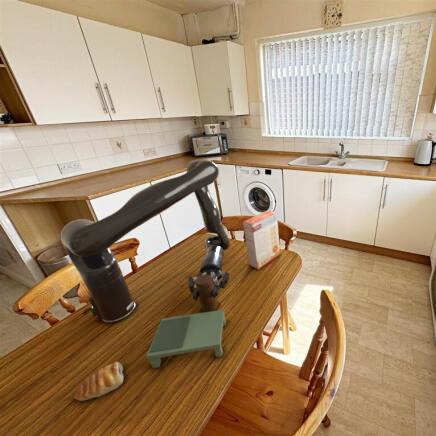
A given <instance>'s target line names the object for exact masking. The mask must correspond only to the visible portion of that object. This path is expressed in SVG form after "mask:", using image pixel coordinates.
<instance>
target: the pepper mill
mask: <svg viewBox="0 0 436 436" xmlns="http://www.w3.org/2000/svg"><path fill="white" fill-rule="evenodd" d="M196 277H197V276H196ZM194 285H196V288H197V292H198V295H199V297H198V300H199V303H200V307H201V311H202V313H205V312H211V311H217V309H218V306H219V305H218V300H217V297H216V298H213V288H214V284H213V282H212V277H211V276H210V275H208V274H204V275H200V276H199V277H197V278H196V279H195V284H194Z"/></svg>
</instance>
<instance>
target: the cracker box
mask: <svg viewBox="0 0 436 436" xmlns="http://www.w3.org/2000/svg"><path fill="white" fill-rule="evenodd" d="M278 223H279V222H278V213H277V212H274V211H271V210H268V209H267V210H265V211H263V212H261V213H259V214H257V215H255V216H253V217H249V218H248V219H246V220H244V221H242V225H243V231H244V237H245V244H246V252H247V258H248V265H249V266H251V267H252V268H254V269H256V270H261V268H263V267H264V266H266V265H268V264H269V263H270V262H271V261H273V260H274V259H276V258H277V257H278V256H280V255H281V249H280V248H281V247H280V236H279V224H278Z"/></svg>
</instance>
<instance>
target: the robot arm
mask: <svg viewBox="0 0 436 436" xmlns="http://www.w3.org/2000/svg"><path fill="white" fill-rule="evenodd" d="M219 172H220V171H219V167H218V165H217V164H216V163H214V162H213V161H211V160H208V159H207V160H206V159H195V160H192V161H190V162H188V164H187V166H186V172H185V173H183V174H181V175H178V176H175V177H172V178H167V179H164V180H162V181H158V182H155V183H153V184H151V185H149V186H147V187H145V188H143V189H142V190H139V191H138V192H136V193H135V194H133V195H132V196H131V197H130V198H129V199H128V200H127V201H126V202H125V203H124V205H122V206H121V207H120V208H119V209H118V210H116V211H115V212H113V213H112V214H110V215H107V216H106V217H104V218H102V219H99V220H97V221H93V220H90V219H86V218H85V219H83V218H82V219H81V218H80V219H75V220H72V221H70V222H68V223H67V224H65V226H64V227H63V228H62V230H61V232H60V240H61V243H62V246H63V248H64V249H65V251H66V253H67V255H68V257H69V259H70V260H71V262H72V264H73V266H74V268H75V269H76V271H77V272H78V274H79V275H80V277H81V279H82V281H83V283H84V285H85V287H86V289H87V291H88V293H89V296H88V302H89V303H90V305H91V306H90V307H88V308H86V309H85V310H84V311H83V312H82V314H83V315H86V314H87V313H88V312H89V311H90V312H91V315H92V316H93V317H97V318H98V320H99V321H103V322H104V323H108V324H112V323H116V322H117V323H118V322H119V321H122V320H124V319H126V318H127V317H129V316H130V315H131V314H132V313H133V312H134V311H135V310H136V302H135V301H134V298H133V296H132V294H131V291H130V288H129V286H128V284H127V282H126V281H127V280H126V279H125V277H124V274H123V272H122V269H121V267H120V264H119V262H118V260H117V259H118V258H117V257H116V255H115V254H114V253H113V252H112V250H111V249H110V248H111V246H113V245H114V244H116V243H117V242H118V241H120V240H121V239H122V238H124V237H125V236H126V235H127V234H129V233H130V232H132V231H133V230H135V229H137V228H138V227H140V226H142V225H143V224H145V223H147V222H148V221H150V220H152V219H153V218H155V217H157V216H159V215H160V214H162V213H164V212H165V211H167V210H168V209H170V208H172V207H173V206H175V205H176V204H177V203H179V202H181V201H183V200H184V199H185V198H187V197H188V196H190V195H191V194H193V193H194V195H195V198H196V201H197V204H198V206H199V210H200V213H201V217H202V221H203V226H204V229H205V232H206V233H209V234H215V235H210V236H208V237H206V238H205V239H204V248H205V254H204V256H203V259H202V262H201V265H200V269H199V273H198V274H197V275H196V276H194V277H193V275H190V276H188V288H189V292H190V293H191V294H192V298H193V300H194V301H198V300H199V295H198V292H197V288H196V284H195V279H196V278H197V277H199V276H200V275H204V274H208V275H210V276H211V277H212V282H213V286H214V288H213V298H216V299H217V297H218V296H219V294H220V293H219V292H220V290H221V289H225V288H226V287H227V284H228V283H229V281H230V273H229V271H225V272H224V273H222V271H223V266H224V257H225V256H224V255H225V251H227V250H229V248H230V246H231V240H230V238H229V236H228V235H227V233H226V232H225V229H224V226H223V223H222V219H221V214H220V211H219V208H218V206H217V205H216V202H215V201H214V199H213V196H212V195H211V193H210V190H209V186H210V185H212V184H213V183H215V181H217V179H218V177H219V175H220V174H219ZM219 281H220V282H219Z"/></svg>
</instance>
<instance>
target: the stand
mask: <svg viewBox="0 0 436 436" xmlns="http://www.w3.org/2000/svg"><path fill="white" fill-rule="evenodd" d="M225 314H226V313H225V309H220V310H219V309H218V310H215V311H211V312H205V313H204V312H197V313H190V314H184V315H178V316H172V317H164V318H161V320H160V322H159V325H158V327H157V329H156V331H155V332H156V333H155V334H154V336H153V339H152V342H151V344H150V347H149V348H148V351H147V354H146V357H145V358H146V359H147V360H149V363H150V365H151V367H152V369H156V368H160V366H161V363H162V359H161V358H164V357H165V358H166V357H172V356H176V355H183V354H188V353H195V352H199V351H200V352H201V351H207V350H212V349H213V351H214V355H215V358H219V357H223V353H224V352H223V347H222V338H223V330H224V327H226V323H227V321H226V316H225Z"/></svg>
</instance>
